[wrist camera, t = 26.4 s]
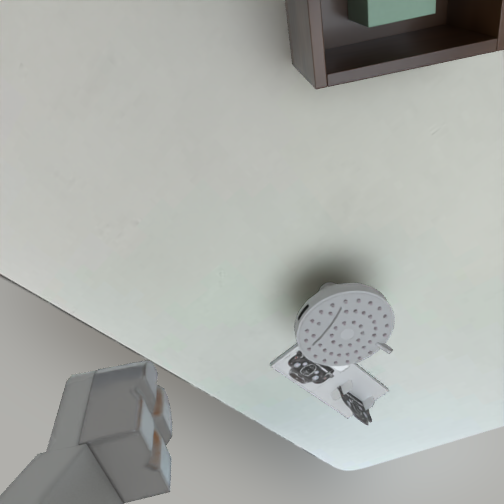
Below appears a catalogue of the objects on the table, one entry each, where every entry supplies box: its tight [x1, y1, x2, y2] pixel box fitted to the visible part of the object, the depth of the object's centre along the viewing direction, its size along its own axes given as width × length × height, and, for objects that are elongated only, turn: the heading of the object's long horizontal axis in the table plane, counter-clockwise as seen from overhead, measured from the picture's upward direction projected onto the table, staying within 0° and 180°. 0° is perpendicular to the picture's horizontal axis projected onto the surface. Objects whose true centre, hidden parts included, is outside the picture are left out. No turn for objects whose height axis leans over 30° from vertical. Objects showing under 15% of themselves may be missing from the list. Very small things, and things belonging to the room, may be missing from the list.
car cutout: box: [270, 344, 389, 425], centre depth 54 cm, size 15×7×4 cm, turn 44°
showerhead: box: [294, 282, 395, 366], centre depth 46 cm, size 9×7×10 cm
